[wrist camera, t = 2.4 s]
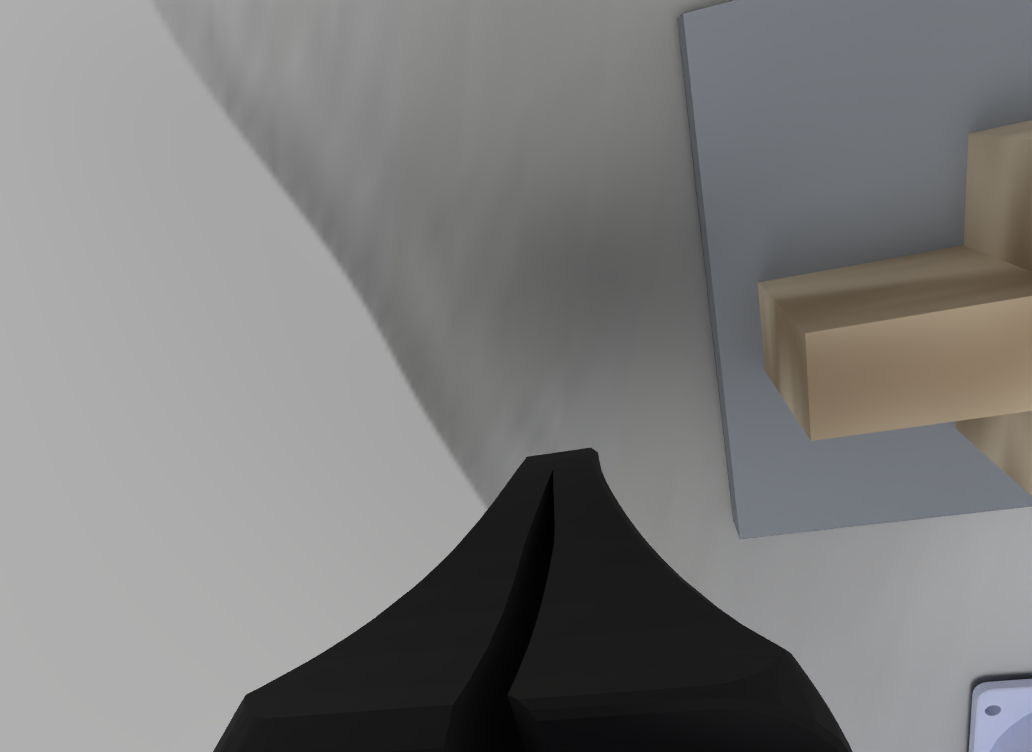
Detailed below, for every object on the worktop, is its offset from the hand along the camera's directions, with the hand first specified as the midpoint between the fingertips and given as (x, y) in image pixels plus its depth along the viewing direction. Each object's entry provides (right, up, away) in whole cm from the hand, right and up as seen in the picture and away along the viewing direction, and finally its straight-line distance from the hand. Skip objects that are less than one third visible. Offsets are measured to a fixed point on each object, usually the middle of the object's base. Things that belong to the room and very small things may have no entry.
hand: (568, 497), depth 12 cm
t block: (+9, +4, +5) cm, 11 cm away
